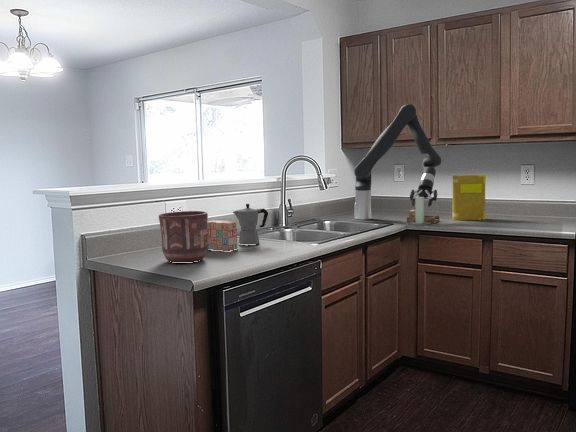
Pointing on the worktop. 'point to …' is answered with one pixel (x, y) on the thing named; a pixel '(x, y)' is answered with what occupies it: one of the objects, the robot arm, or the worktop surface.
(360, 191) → the robot arm
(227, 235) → the stack of blocks
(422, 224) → the mat
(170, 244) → the pottery
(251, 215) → the coffeepot
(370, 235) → the worktop surface
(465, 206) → the book
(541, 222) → the worktop surface
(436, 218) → the rack
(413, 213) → the offcut top
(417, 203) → the slat
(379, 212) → the worktop surface
